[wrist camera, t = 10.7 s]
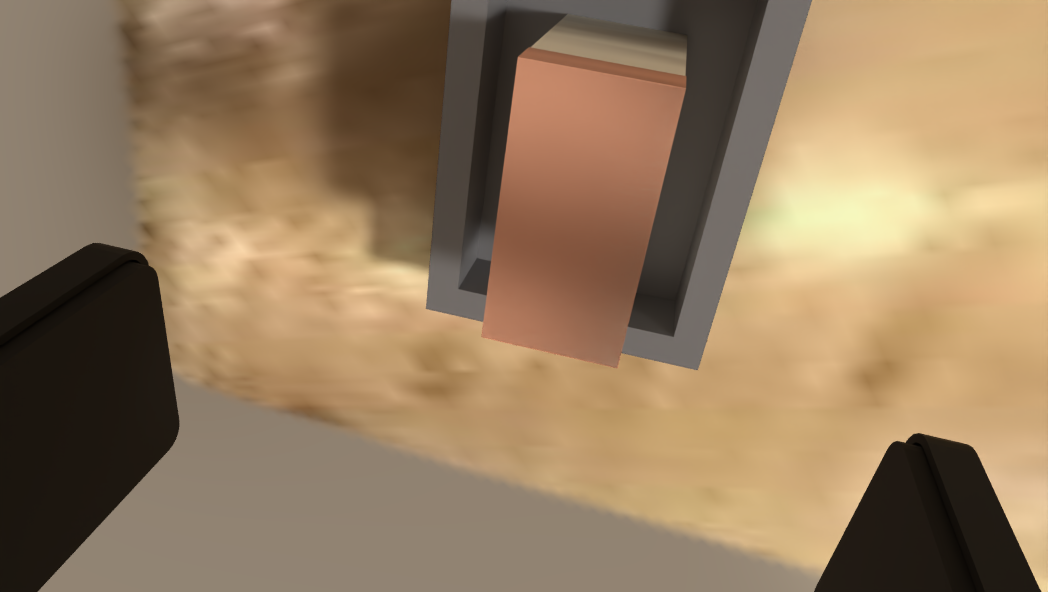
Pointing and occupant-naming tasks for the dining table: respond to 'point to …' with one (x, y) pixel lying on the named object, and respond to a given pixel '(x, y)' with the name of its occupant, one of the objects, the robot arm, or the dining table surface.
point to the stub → (582, 185)
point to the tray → (692, 171)
